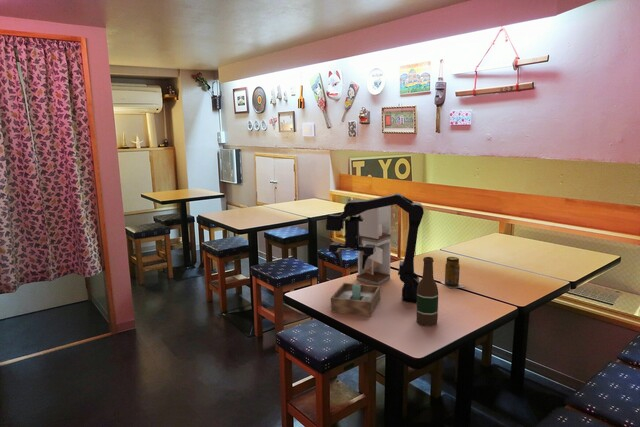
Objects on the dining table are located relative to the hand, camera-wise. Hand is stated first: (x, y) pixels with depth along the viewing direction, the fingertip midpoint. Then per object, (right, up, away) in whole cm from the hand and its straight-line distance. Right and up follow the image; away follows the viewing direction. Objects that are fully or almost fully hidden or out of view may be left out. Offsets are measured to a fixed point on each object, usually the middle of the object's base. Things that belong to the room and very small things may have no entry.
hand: (352, 268), depth 184 cm
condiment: (+45, -9, +13) cm, 48 cm away
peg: (+1, -14, -7) cm, 15 cm away
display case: (+11, -8, +22) cm, 26 cm away
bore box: (+1, -14, -7) cm, 15 cm away
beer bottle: (+25, -17, -24) cm, 38 cm away
